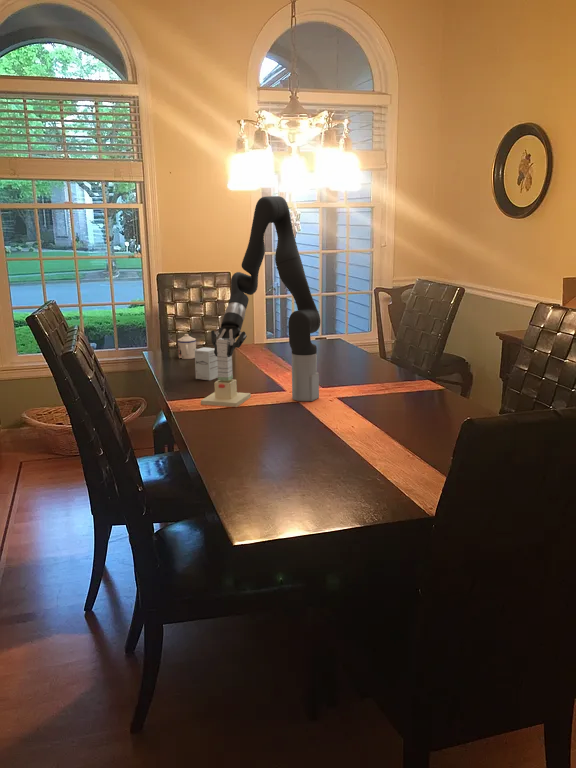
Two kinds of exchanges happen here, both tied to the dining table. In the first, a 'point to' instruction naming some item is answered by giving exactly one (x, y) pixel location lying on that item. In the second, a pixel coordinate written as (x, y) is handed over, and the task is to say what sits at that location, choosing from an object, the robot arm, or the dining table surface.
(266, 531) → the dining table surface
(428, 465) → the dining table surface
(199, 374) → the supplement box
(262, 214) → the robot arm
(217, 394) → the stand base
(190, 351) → the teacup with lid
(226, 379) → the column
